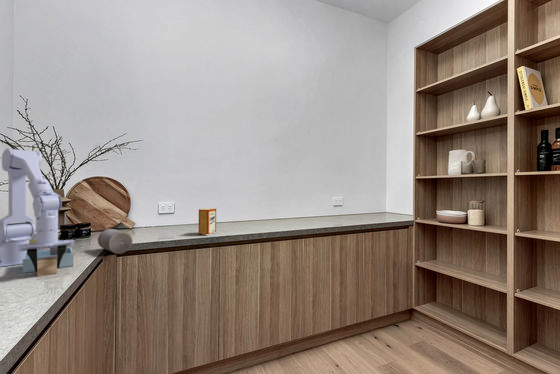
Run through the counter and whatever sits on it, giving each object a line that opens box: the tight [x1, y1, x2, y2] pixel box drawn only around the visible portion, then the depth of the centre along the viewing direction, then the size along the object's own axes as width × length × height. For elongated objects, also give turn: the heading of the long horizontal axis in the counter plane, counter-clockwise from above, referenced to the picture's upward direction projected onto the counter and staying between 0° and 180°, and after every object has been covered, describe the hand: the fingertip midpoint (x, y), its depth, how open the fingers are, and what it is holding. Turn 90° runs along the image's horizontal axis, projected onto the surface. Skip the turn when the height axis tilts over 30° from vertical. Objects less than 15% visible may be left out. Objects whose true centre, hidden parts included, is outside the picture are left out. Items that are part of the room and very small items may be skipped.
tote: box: [22, 246, 74, 275], centre depth 101 cm, size 14×12×5 cm
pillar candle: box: [97, 228, 133, 255], centre depth 124 cm, size 10×10×15 cm
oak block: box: [36, 256, 58, 278], centre depth 93 cm, size 5×5×5 cm
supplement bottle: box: [29, 226, 44, 251], centre depth 126 cm, size 6×6×10 cm
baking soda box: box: [198, 207, 217, 235], centre depth 169 cm, size 10×6×16 cm
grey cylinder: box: [49, 245, 68, 256], centre depth 103 cm, size 5×5×7 cm
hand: (47, 269), depth 93 cm, fingers closed on oak block, 5 cm apart
